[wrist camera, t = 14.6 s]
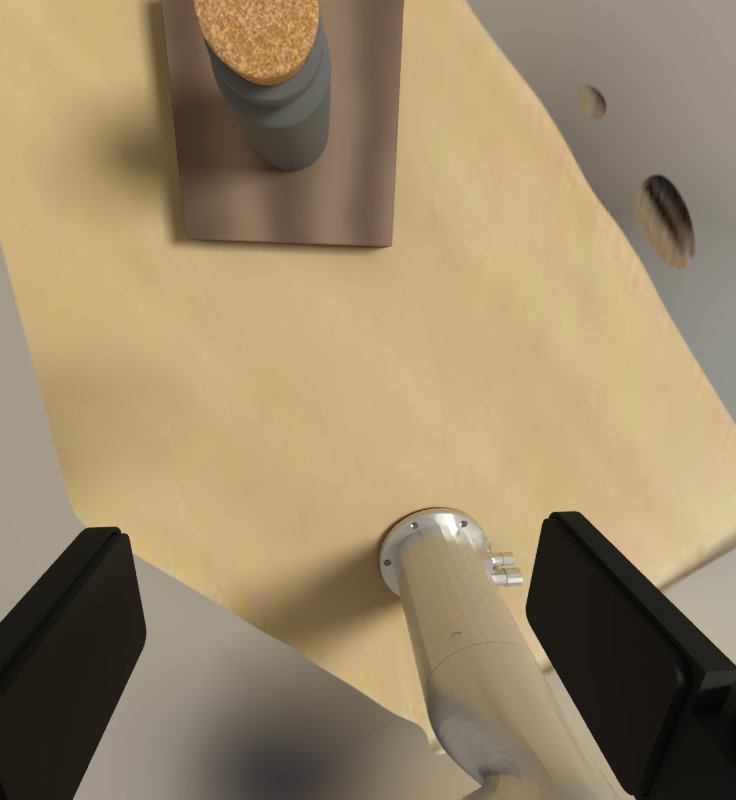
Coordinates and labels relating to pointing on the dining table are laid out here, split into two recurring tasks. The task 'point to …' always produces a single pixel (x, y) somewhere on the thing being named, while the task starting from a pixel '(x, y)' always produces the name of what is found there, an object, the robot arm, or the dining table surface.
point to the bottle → (272, 73)
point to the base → (307, 188)
